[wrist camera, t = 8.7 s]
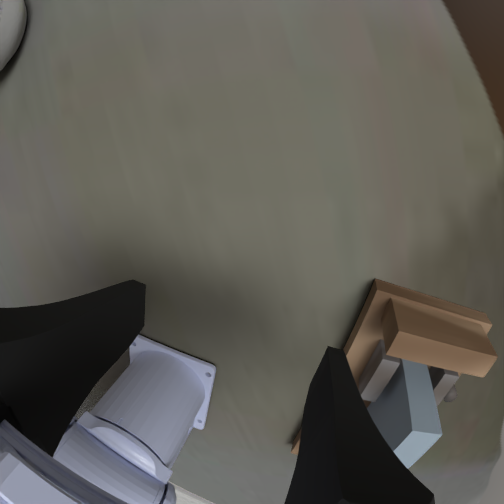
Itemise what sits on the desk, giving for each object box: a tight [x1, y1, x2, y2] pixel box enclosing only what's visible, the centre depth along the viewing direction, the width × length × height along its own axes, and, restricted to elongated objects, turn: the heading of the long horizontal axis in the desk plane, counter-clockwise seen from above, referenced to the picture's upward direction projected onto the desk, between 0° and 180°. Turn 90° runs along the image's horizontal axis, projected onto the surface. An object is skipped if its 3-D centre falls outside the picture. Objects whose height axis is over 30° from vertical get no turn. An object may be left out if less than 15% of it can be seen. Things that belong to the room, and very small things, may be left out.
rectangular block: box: [367, 358, 442, 469], centre depth 18 cm, size 10×3×6 cm, turn 168°
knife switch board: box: [291, 279, 498, 455], centre depth 20 cm, size 18×9×5 cm, turn 168°
